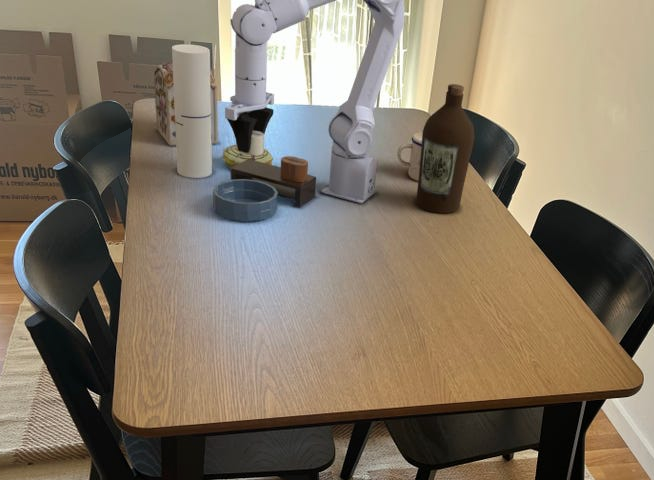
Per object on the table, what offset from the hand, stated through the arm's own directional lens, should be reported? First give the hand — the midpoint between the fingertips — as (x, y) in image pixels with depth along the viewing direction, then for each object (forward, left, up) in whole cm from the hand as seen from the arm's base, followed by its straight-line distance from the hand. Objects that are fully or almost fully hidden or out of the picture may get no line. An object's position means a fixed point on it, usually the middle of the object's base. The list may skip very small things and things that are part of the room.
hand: (250, 148), depth 147 cm
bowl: (-2, +5, -10) cm, 12 cm away
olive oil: (-33, -22, -11) cm, 41 cm away
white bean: (0, 0, 0) cm, 0 cm away
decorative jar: (+30, -23, -11) cm, 39 cm away
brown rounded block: (-7, -6, -6) cm, 11 cm away
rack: (-2, -6, -10) cm, 12 cm away
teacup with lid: (-24, -36, -11) cm, 44 cm away
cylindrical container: (+17, -6, -11) cm, 21 cm away
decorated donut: (+10, -16, -11) cm, 21 cm away
